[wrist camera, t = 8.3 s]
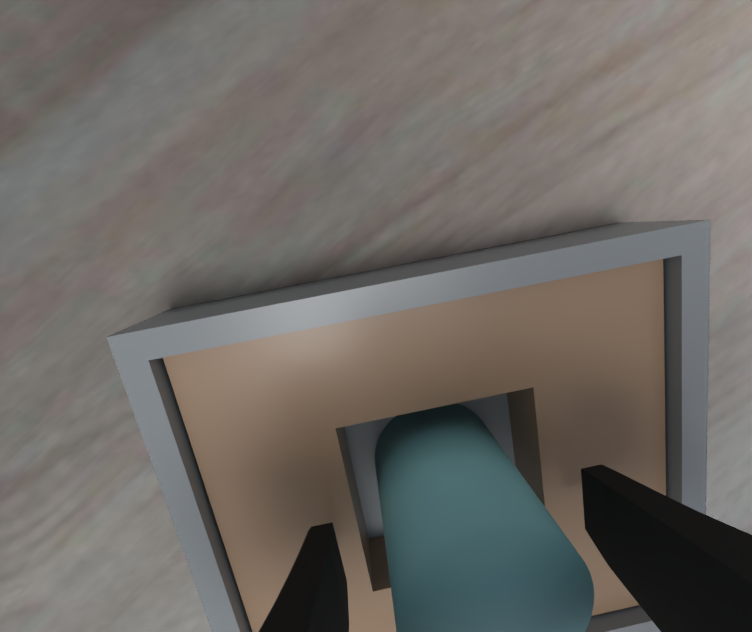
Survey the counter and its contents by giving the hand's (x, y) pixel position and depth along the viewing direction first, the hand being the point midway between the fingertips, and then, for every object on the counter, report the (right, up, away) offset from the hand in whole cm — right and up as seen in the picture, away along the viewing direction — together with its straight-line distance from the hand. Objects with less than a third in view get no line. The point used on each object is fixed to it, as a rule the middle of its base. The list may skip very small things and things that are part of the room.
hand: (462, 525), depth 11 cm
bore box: (0, +1, +4) cm, 4 cm away
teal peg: (0, +1, +3) cm, 3 cm away
